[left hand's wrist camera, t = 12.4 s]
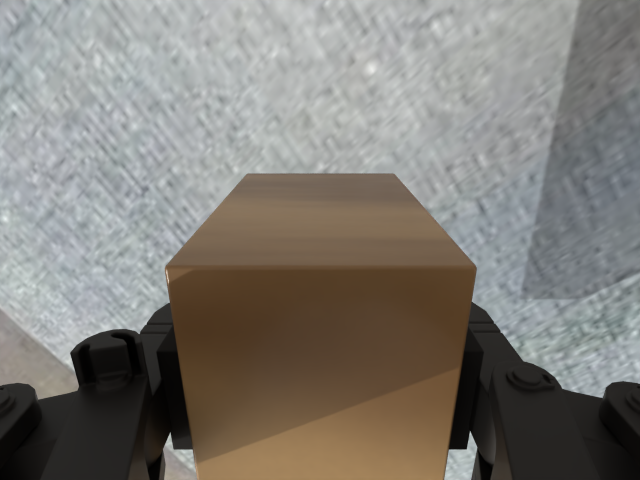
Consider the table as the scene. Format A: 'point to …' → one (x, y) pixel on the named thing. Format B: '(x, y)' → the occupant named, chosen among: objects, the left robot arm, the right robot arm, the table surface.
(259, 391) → the bar
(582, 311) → the table surface
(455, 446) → the left robot arm
